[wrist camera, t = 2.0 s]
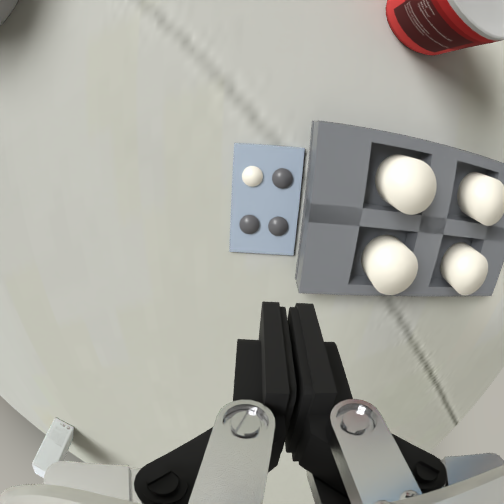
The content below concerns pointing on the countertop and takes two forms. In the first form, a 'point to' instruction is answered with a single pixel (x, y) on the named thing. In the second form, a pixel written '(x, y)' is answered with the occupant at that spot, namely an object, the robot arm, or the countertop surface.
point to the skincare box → (53, 446)
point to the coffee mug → (6, 9)
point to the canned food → (445, 23)
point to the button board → (356, 209)
